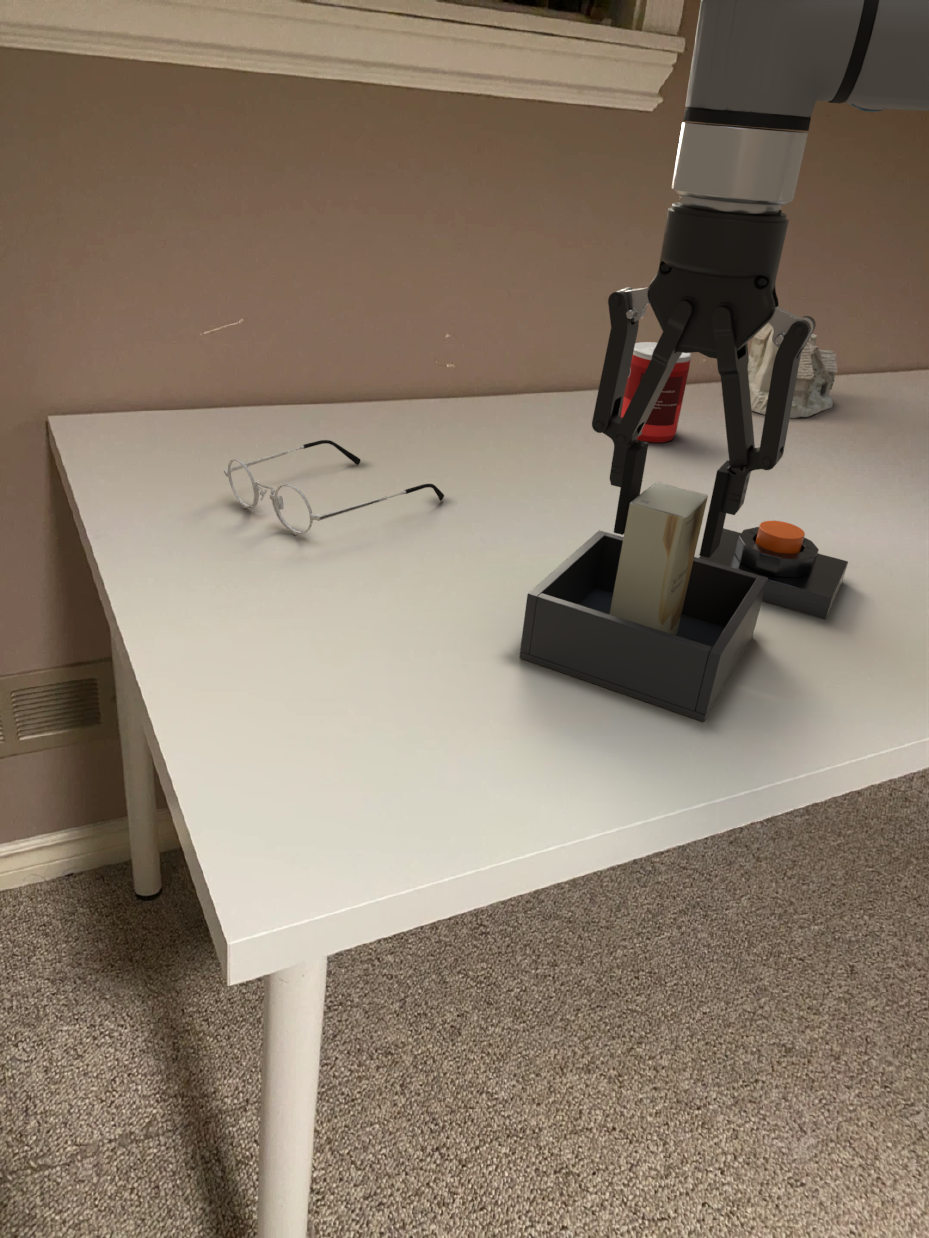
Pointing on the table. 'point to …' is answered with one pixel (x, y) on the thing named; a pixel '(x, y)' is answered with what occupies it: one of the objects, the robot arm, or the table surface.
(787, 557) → the control block
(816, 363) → the ceramic cottage
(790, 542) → the button
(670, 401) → the canned food
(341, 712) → the table surface
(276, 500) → the eyeglasses
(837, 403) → the table surface
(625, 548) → the cosmetic box
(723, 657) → the bin
